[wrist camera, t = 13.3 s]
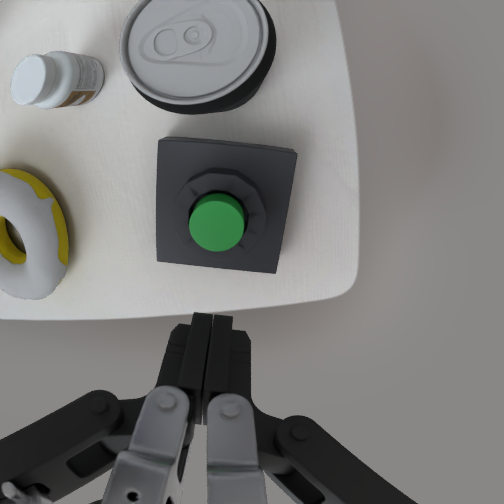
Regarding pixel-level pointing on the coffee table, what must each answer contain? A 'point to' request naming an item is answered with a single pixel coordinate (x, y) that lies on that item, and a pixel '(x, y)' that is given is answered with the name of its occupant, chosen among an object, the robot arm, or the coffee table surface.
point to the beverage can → (197, 52)
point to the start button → (217, 222)
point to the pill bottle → (56, 80)
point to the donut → (31, 237)
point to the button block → (230, 183)
